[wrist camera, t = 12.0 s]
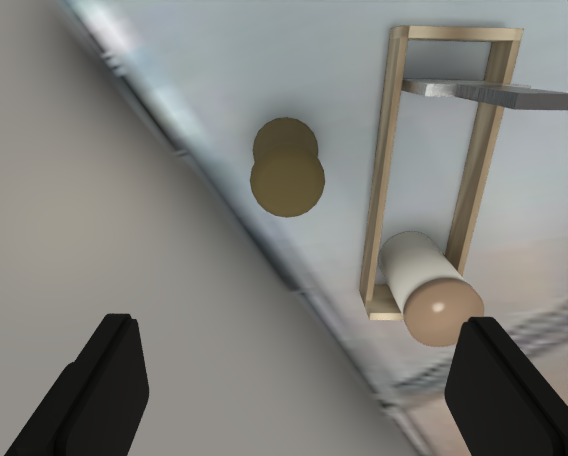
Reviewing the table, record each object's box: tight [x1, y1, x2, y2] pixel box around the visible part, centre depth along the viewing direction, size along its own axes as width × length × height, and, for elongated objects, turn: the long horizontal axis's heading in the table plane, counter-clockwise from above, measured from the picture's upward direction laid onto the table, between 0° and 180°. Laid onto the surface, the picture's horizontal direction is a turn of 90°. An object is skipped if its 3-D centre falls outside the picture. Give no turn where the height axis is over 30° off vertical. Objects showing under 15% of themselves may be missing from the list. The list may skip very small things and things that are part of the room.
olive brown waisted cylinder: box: [250, 117, 325, 217], centre depth 30 cm, size 6×6×11 cm
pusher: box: [401, 79, 568, 110], centre depth 26 cm, size 7×1×14 cm, turn 89°
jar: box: [378, 232, 484, 347], centre depth 35 cm, size 6×6×10 cm
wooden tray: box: [359, 26, 524, 320], centre depth 34 cm, size 9×25×5 cm, turn 179°
